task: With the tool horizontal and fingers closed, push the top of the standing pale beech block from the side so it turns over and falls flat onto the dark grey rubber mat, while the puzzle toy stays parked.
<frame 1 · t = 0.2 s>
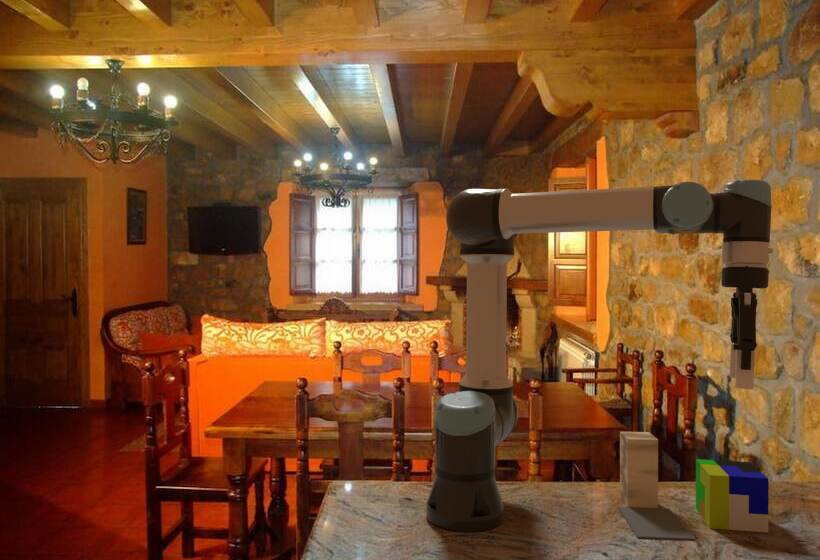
hand: (740, 383, 111), 27 cm above the countertop, tool pointing down, fingers open, 13 cm apart
beech block: (638, 502, 127), on the countertop
rubber mat: (654, 523, 116), on the countertop
puzzle toy: (730, 521, 118), on the countertop
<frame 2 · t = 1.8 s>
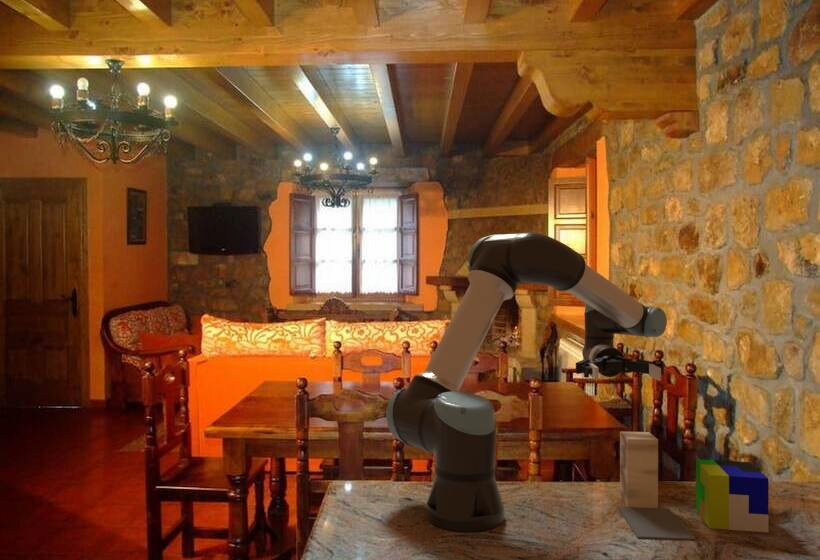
hand: (627, 374, 136), 25 cm above the countertop, tool horizontal, fingers open, 13 cm apart
nothing on the countertop moved.
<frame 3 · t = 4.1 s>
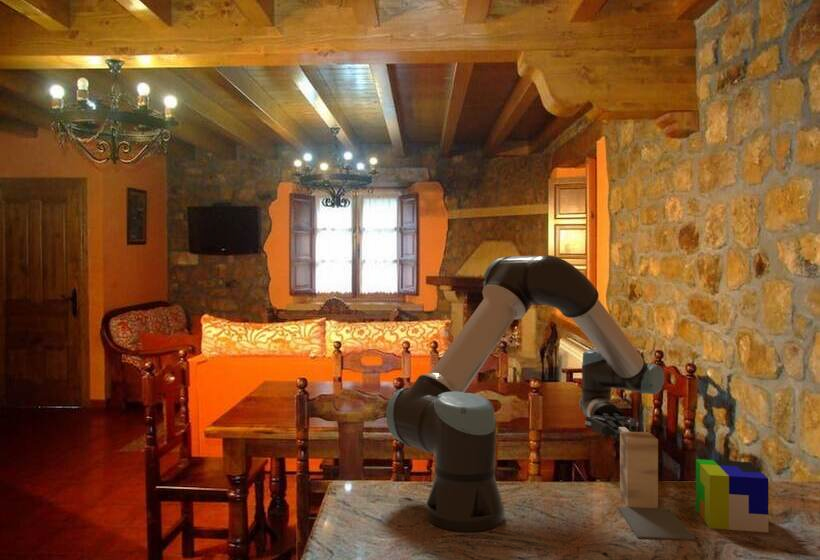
hand: (629, 440, 134), 11 cm above the countertop, tool horizontal, fingers closed
nothing on the countertop moved.
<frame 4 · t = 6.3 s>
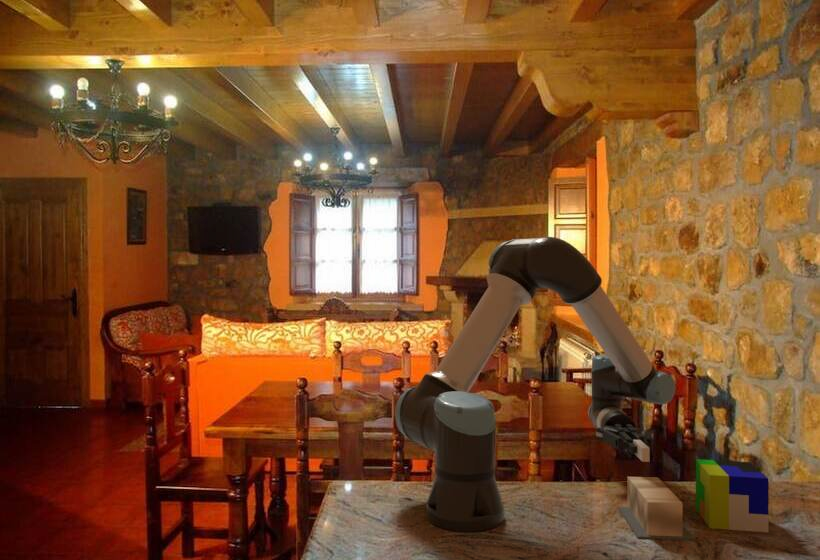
hand: (645, 454, 124), 11 cm above the countertop, tool horizontal, fingers closed
beech block: (642, 491, 124), point 3 cm above the countertop, tilted 90°, touching rubber mat
everything else where it was.
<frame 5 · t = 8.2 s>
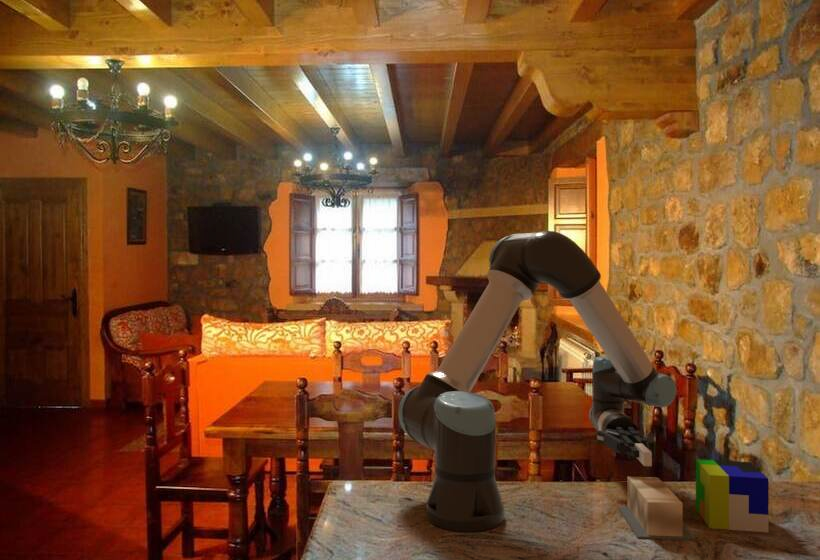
hand: (647, 459, 120), 11 cm above the countertop, tool horizontal, fingers closed
nothing on the countertop moved.
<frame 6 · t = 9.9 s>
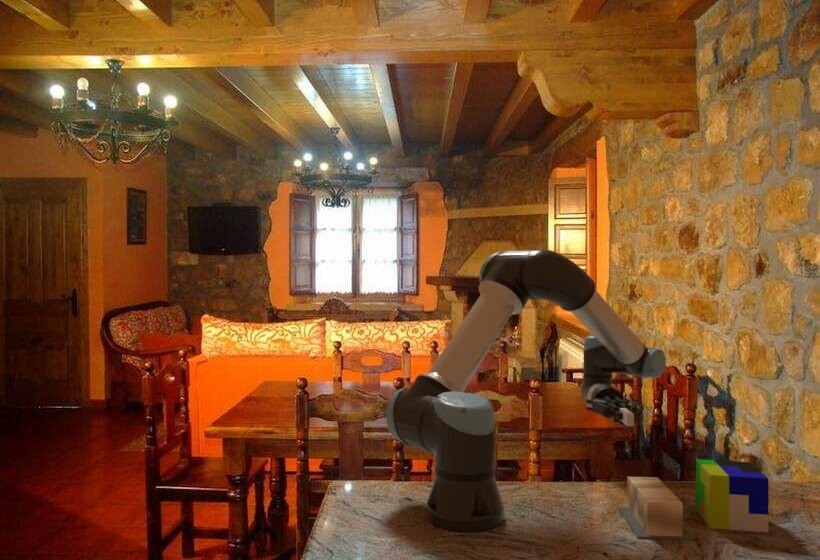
hand: (630, 420, 134), 15 cm above the countertop, tool horizontal, fingers closed
nothing on the countertop moved.
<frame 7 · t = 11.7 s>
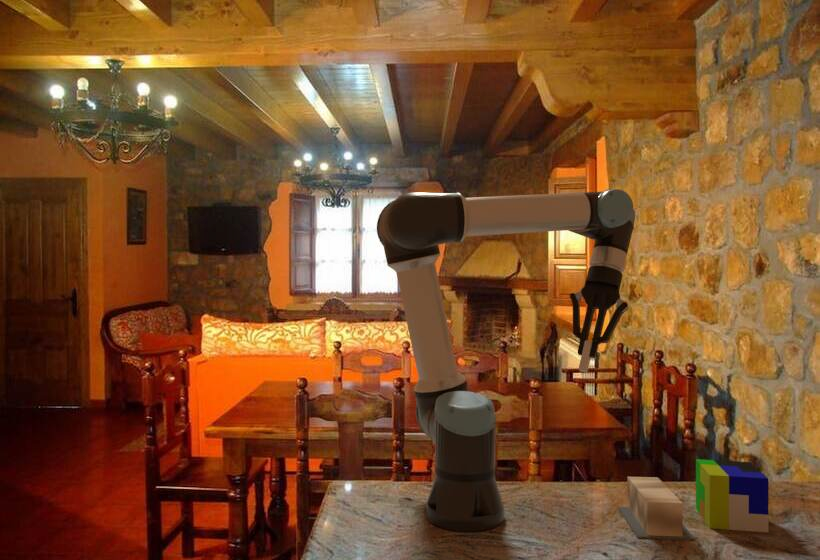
hand: (582, 370, 134), 26 cm above the countertop, tool tilted 20°, fingers closed
nothing on the countertop moved.
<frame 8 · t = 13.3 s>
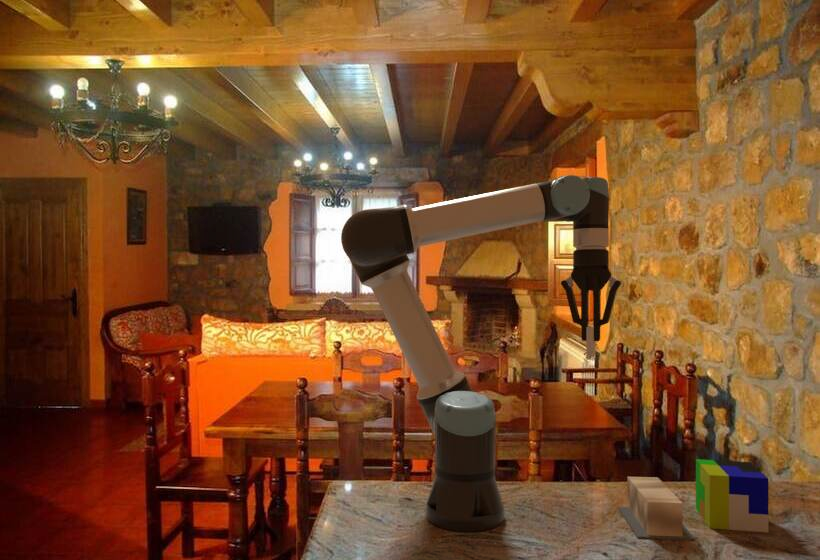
hand: (590, 355, 135), 29 cm above the countertop, tool pointing down, fingers closed
nothing on the countertop moved.
at the end: beech block tilted 90°; beech block inside the target area (1.4 cm from its centre), point 3.3 cm above the countertop; beech block 7.6 cm from the rubber mat (horizontally) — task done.
